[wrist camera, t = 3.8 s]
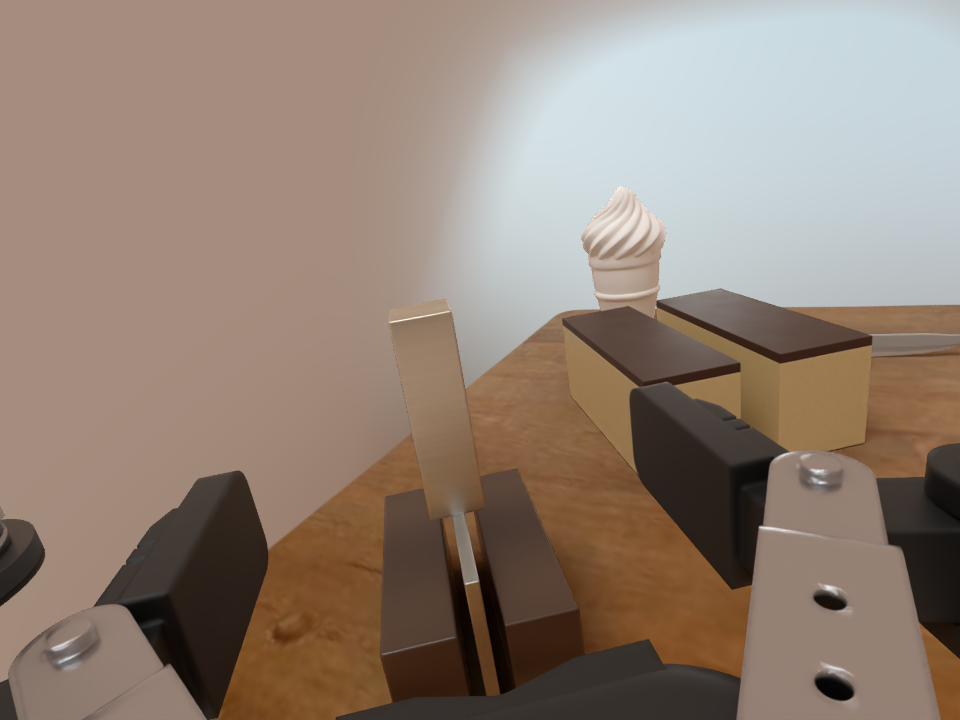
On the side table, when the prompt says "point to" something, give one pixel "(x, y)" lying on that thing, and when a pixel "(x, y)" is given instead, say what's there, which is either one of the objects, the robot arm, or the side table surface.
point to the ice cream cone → (625, 253)
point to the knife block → (434, 603)
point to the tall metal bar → (444, 441)
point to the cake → (725, 367)
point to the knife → (912, 343)
